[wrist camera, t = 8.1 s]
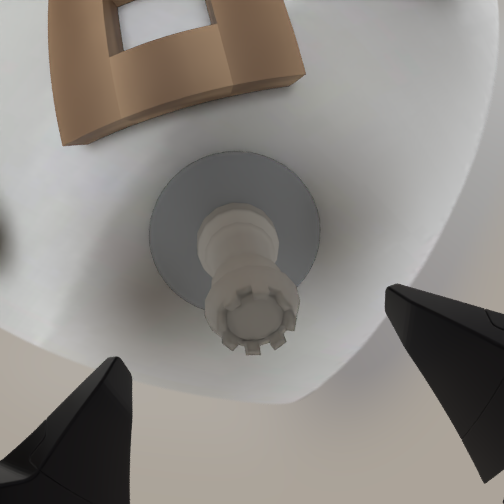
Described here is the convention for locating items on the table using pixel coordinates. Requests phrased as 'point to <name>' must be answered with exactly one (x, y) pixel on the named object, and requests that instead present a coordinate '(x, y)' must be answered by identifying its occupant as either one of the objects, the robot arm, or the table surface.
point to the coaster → (222, 193)
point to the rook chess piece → (245, 279)
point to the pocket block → (161, 63)
